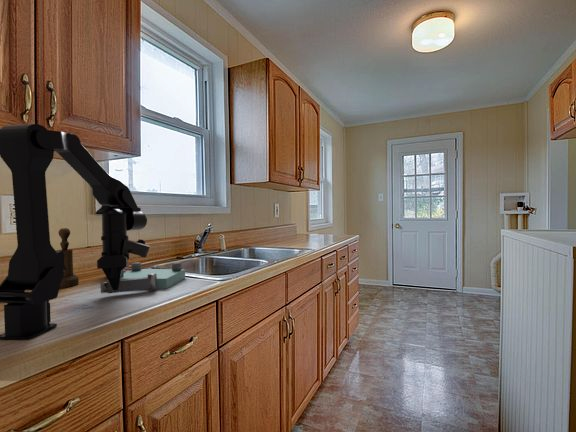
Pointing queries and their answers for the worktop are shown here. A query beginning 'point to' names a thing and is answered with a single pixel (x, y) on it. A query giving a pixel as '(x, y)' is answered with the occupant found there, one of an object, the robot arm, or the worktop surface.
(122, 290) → the folding leg
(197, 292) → the worktop surface
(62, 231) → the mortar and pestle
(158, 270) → the stool seat
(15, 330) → the robot arm
